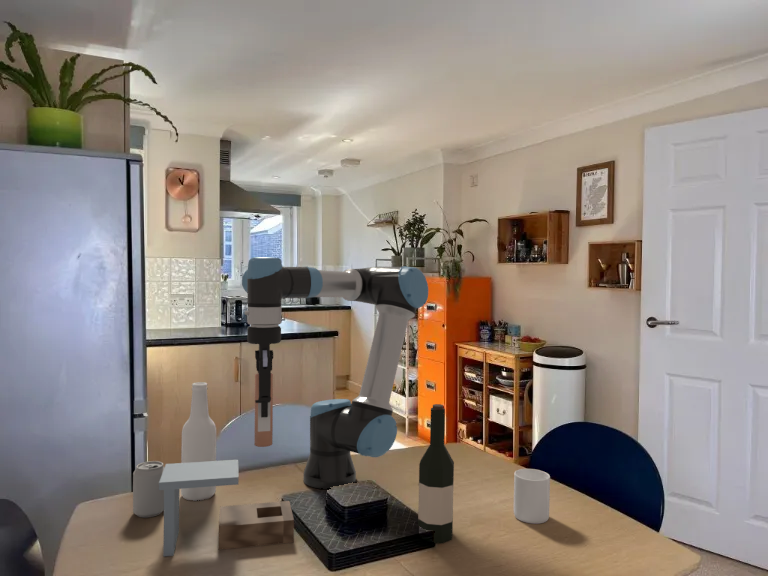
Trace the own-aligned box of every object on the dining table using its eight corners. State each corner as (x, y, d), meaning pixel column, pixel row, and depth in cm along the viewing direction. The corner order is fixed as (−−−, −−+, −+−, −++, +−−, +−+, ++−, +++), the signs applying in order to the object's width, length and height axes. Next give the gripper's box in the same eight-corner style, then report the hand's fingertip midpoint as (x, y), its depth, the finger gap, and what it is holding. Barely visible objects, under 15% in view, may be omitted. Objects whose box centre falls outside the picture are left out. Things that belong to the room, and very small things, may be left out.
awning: (237, 525, 134) (238, 459, 134) (237, 549, 122) (238, 477, 122) (165, 531, 130) (165, 463, 129) (158, 557, 118) (159, 482, 118)
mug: (534, 504, 150) (535, 463, 150) (555, 523, 138) (556, 479, 138) (503, 505, 148) (504, 464, 148) (521, 525, 136) (522, 481, 136)
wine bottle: (443, 547, 125) (446, 411, 124) (410, 537, 129) (413, 406, 129) (459, 533, 132) (462, 404, 131) (427, 524, 136) (430, 399, 136)
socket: (288, 521, 136) (289, 500, 136) (293, 542, 126) (293, 519, 126) (219, 527, 132) (219, 506, 132) (218, 549, 122) (218, 526, 122)
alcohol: (222, 493, 153) (224, 382, 153) (197, 504, 146) (199, 387, 145) (199, 486, 158) (200, 379, 157) (173, 497, 150) (174, 384, 149)
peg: (272, 441, 132) (272, 372, 131) (272, 446, 128) (273, 375, 127) (254, 442, 131) (254, 372, 130) (254, 447, 127) (255, 376, 126)
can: (153, 520, 136) (154, 470, 135) (126, 517, 137) (126, 467, 137) (171, 508, 143) (172, 460, 143) (145, 505, 144) (145, 458, 144)
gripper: (247, 322, 136) (246, 419, 136) (247, 329, 119) (246, 439, 120) (278, 322, 138) (278, 417, 138) (283, 328, 121) (282, 437, 122)
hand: (263, 427), depth 129 cm, fingers closed on peg, 4 cm apart
